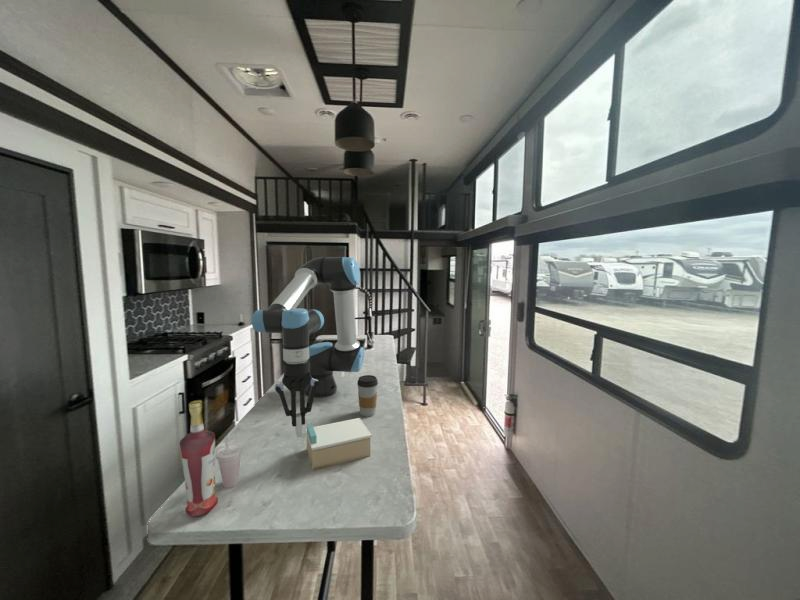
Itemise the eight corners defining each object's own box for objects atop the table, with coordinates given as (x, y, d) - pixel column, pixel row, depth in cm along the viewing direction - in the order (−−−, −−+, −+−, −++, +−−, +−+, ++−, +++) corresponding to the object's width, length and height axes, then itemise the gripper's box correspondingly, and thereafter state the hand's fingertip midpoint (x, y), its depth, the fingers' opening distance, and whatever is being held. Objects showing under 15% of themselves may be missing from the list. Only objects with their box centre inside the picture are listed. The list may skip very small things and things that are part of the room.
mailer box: (306, 449, 108) (306, 432, 108) (358, 437, 116) (358, 421, 115) (313, 470, 97) (312, 451, 97) (370, 455, 105) (370, 438, 104)
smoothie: (224, 476, 94) (221, 430, 93) (247, 475, 95) (244, 429, 93) (213, 492, 88) (210, 443, 86) (238, 490, 89) (235, 442, 87)
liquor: (215, 517, 79) (208, 407, 76) (180, 524, 77) (171, 411, 74) (222, 496, 86) (216, 395, 83) (190, 502, 84) (183, 398, 81)
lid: (305, 430, 108) (305, 421, 107) (359, 419, 115) (359, 411, 115) (311, 450, 96) (311, 440, 96) (371, 437, 104) (371, 427, 104)
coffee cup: (374, 419, 130) (374, 382, 128) (354, 417, 131) (354, 381, 129) (380, 410, 138) (380, 375, 136) (361, 408, 139) (361, 374, 138)
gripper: (274, 366, 92) (277, 445, 95) (321, 361, 97) (322, 436, 100) (272, 359, 99) (275, 433, 101) (316, 354, 104) (318, 425, 107)
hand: (298, 434), depth 101 cm, fingers closed
